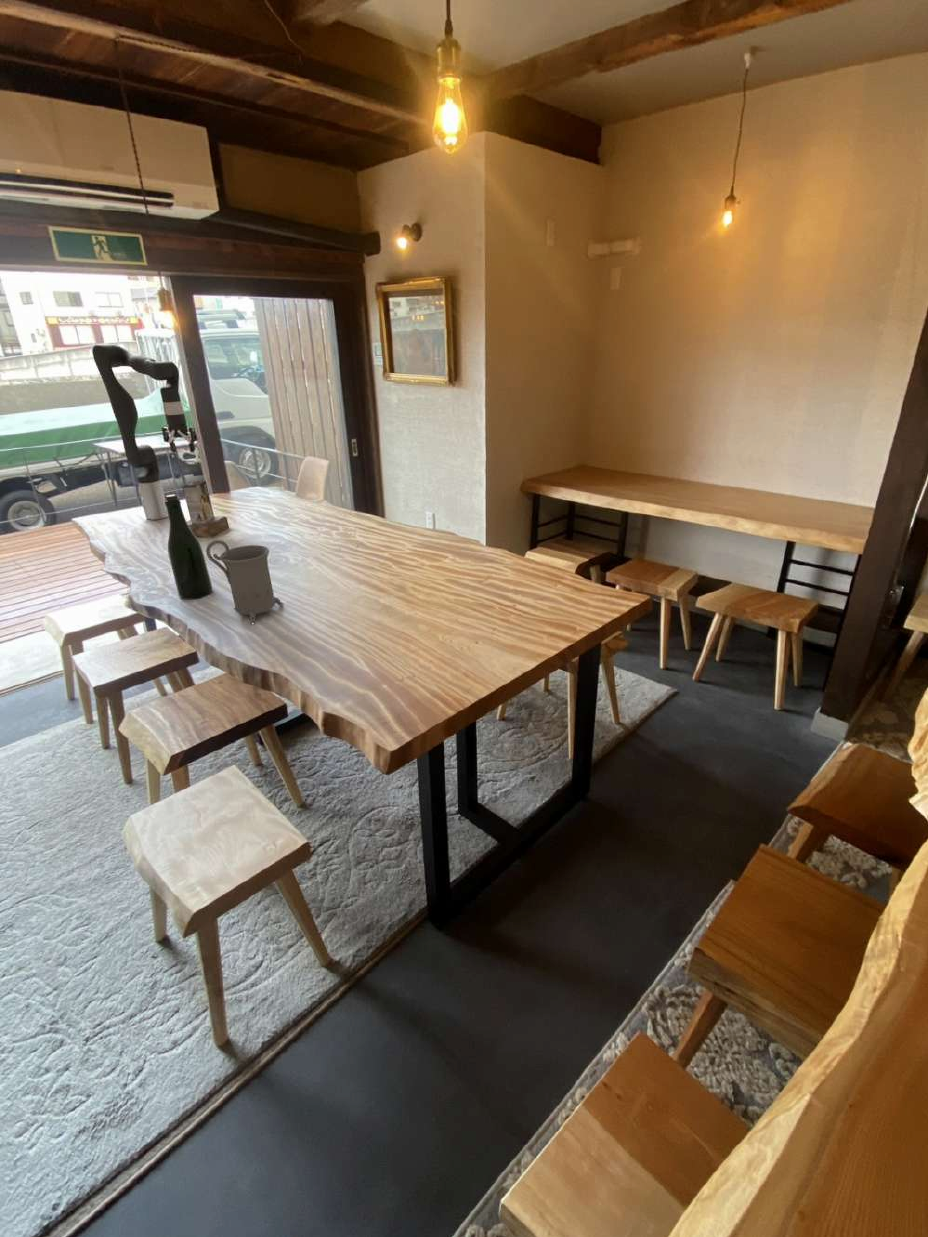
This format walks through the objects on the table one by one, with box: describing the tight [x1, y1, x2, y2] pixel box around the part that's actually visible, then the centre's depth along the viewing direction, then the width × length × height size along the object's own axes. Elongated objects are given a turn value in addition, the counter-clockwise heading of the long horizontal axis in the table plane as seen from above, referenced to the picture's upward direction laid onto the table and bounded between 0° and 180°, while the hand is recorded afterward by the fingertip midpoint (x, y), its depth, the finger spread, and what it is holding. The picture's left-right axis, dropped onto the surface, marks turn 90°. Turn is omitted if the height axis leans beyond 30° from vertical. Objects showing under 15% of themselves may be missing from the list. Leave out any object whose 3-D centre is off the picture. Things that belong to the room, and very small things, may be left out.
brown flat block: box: [186, 515, 230, 539], centre depth 256 cm, size 14×14×5 cm
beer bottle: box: [164, 494, 213, 599], centre depth 189 cm, size 10×10×33 cm
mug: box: [205, 539, 284, 624], centre depth 175 cm, size 19×15×25 cm
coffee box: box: [182, 480, 215, 524], centre depth 251 cm, size 9×6×16 cm
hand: (183, 451), depth 258 cm, fingers open, 8 cm apart
